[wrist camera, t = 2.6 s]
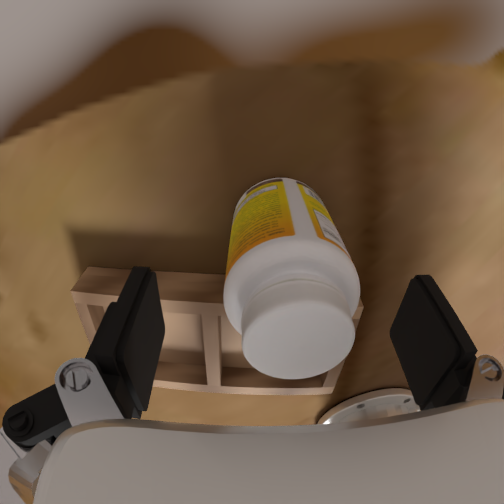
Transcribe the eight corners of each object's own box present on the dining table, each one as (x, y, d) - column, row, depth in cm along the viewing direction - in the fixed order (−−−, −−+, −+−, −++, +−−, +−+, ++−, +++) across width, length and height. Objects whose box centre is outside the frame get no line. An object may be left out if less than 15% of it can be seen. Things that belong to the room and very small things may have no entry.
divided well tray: (352, 279, 21) (363, 307, 19) (326, 366, 26) (331, 393, 24) (87, 266, 21) (70, 291, 19) (114, 353, 26) (105, 378, 23)
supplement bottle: (225, 248, 20) (205, 381, 11) (245, 164, 17) (234, 263, 9) (308, 265, 21) (338, 396, 12) (337, 187, 18) (406, 296, 9)
